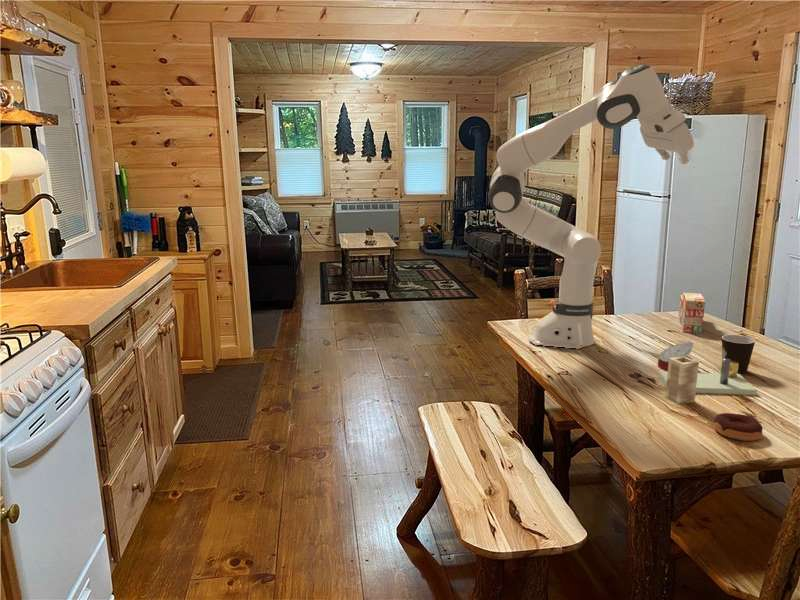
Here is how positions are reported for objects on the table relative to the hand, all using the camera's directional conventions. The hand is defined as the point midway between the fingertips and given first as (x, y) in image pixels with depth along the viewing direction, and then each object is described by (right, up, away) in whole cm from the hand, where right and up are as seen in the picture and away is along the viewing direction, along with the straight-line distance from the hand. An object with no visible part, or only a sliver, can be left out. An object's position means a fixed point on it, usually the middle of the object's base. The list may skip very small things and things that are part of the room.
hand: (675, 160), depth 170 cm
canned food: (+4, -61, +9) cm, 62 cm away
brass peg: (+15, -62, -2) cm, 64 cm away
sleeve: (-5, -67, -14) cm, 68 cm away
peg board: (+6, -64, -5) cm, 65 cm away
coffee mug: (+21, -61, +7) cm, 65 cm away
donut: (-1, -72, -33) cm, 79 cm away
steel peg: (+10, -63, -7) cm, 65 cm away
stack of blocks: (+30, -50, +53) cm, 79 cm away
